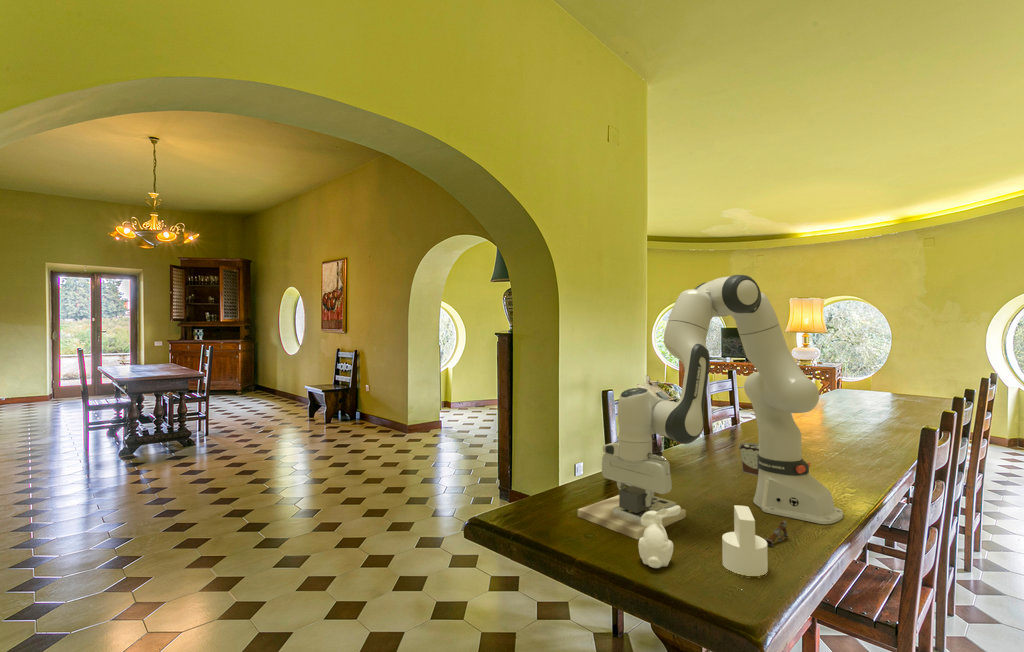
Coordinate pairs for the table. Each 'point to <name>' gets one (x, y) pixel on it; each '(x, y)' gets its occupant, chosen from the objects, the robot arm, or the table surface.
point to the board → (604, 517)
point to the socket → (636, 517)
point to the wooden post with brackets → (777, 533)
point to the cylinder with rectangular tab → (744, 546)
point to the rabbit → (656, 538)
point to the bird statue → (659, 393)
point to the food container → (749, 457)
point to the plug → (633, 499)
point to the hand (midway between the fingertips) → (635, 502)
